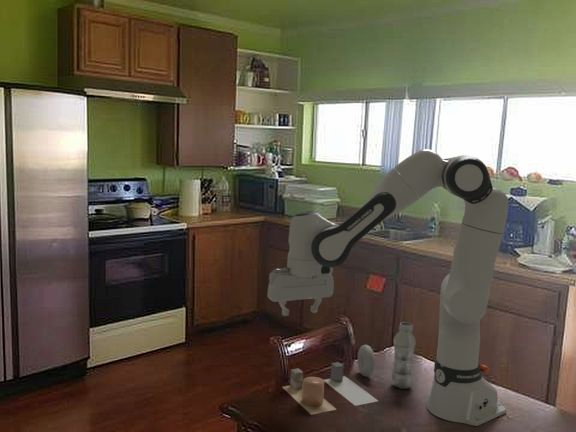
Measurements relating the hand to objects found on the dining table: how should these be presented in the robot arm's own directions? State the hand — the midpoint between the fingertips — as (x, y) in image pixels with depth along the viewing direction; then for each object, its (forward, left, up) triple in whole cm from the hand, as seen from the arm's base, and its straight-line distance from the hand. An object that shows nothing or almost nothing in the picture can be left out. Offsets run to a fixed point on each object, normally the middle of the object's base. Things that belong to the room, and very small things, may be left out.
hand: (299, 313), depth 160 cm
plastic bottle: (-32, +9, -24) cm, 41 cm away
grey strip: (-14, +8, -24) cm, 29 cm away
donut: (-26, -2, -24) cm, 35 cm away
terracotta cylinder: (0, +10, -23) cm, 25 cm away
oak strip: (0, +8, -24) cm, 25 cm away
